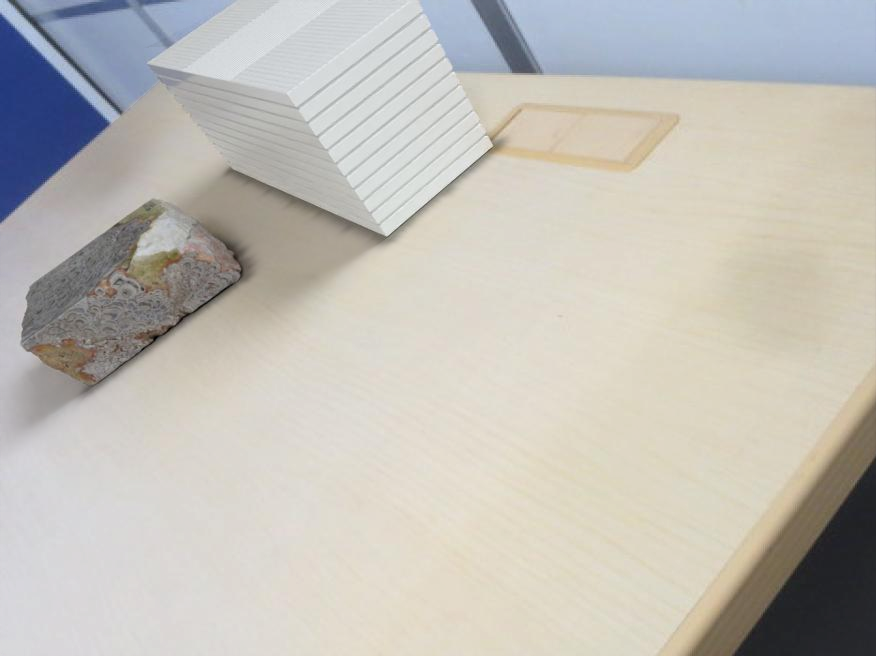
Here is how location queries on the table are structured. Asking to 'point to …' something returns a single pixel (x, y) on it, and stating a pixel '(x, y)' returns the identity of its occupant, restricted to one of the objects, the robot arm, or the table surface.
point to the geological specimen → (124, 291)
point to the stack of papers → (329, 102)
